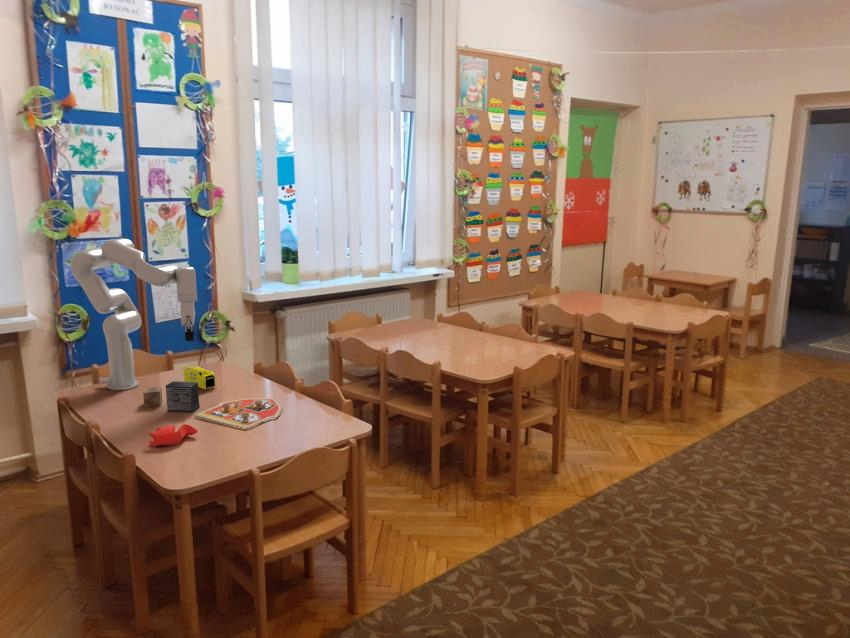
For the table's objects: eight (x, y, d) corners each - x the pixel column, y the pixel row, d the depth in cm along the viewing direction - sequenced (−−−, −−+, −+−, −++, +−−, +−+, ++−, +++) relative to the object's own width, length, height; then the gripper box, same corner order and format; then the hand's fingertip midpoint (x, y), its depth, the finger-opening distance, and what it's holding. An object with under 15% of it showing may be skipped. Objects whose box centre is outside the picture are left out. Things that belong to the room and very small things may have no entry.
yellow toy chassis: (183, 383, 287) (182, 365, 286) (195, 380, 292) (194, 362, 290) (204, 391, 278) (203, 372, 276) (216, 388, 282) (215, 369, 280)
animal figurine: (202, 439, 229) (202, 425, 228) (161, 451, 218) (160, 437, 217) (185, 430, 236) (184, 416, 235) (144, 442, 225) (143, 428, 224)
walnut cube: (144, 407, 258) (143, 392, 257) (146, 402, 264) (145, 388, 262) (160, 406, 259) (159, 391, 258) (162, 401, 265) (161, 387, 264)
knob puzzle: (191, 418, 248) (190, 407, 247) (246, 396, 274) (245, 385, 273) (250, 433, 235) (249, 421, 234) (302, 407, 260) (302, 397, 259)
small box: (200, 407, 259) (198, 381, 257) (193, 412, 253) (191, 386, 250) (174, 405, 260) (172, 380, 258) (166, 411, 254) (164, 385, 251)
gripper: (178, 294, 276) (180, 333, 279) (176, 301, 259) (179, 343, 263) (197, 293, 278) (199, 332, 281) (196, 300, 262) (199, 342, 265)
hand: (189, 338), depth 272 cm, fingers open, 9 cm apart
